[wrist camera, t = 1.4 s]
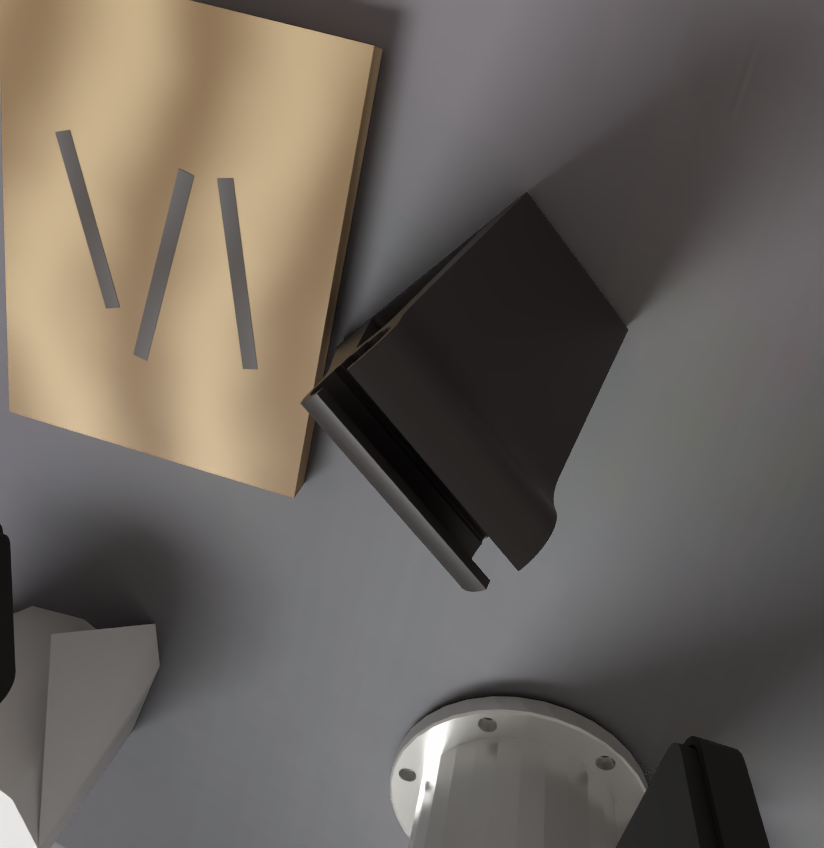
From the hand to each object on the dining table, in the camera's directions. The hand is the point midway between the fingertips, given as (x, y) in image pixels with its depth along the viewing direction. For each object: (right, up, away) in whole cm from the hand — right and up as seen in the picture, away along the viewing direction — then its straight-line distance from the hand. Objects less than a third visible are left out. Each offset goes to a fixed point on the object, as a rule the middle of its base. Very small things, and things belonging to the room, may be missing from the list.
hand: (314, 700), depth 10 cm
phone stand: (+4, +7, +17) cm, 19 cm away
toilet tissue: (-17, -9, +28) cm, 34 cm away
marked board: (-8, +10, +18) cm, 22 cm away
